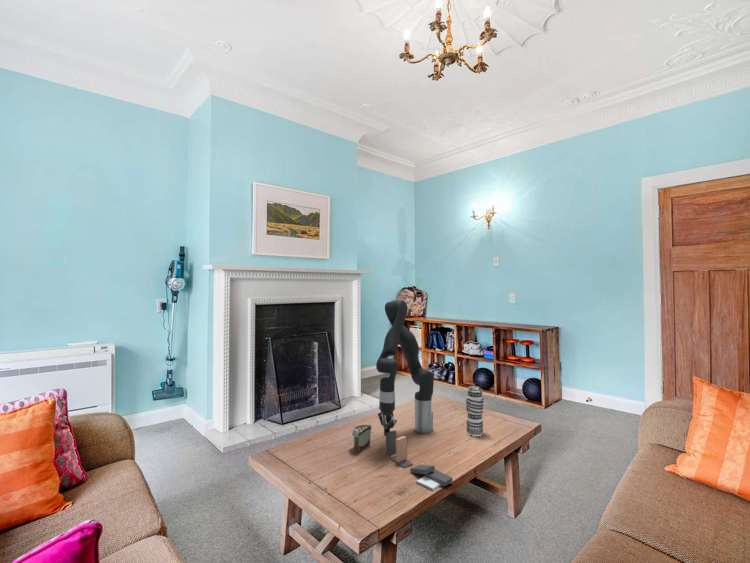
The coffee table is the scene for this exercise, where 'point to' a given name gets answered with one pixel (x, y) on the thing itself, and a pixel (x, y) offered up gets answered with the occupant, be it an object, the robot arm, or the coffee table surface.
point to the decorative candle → (474, 411)
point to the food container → (361, 437)
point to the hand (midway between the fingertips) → (386, 435)
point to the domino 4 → (422, 469)
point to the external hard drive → (428, 483)
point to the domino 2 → (401, 449)
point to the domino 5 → (439, 477)
